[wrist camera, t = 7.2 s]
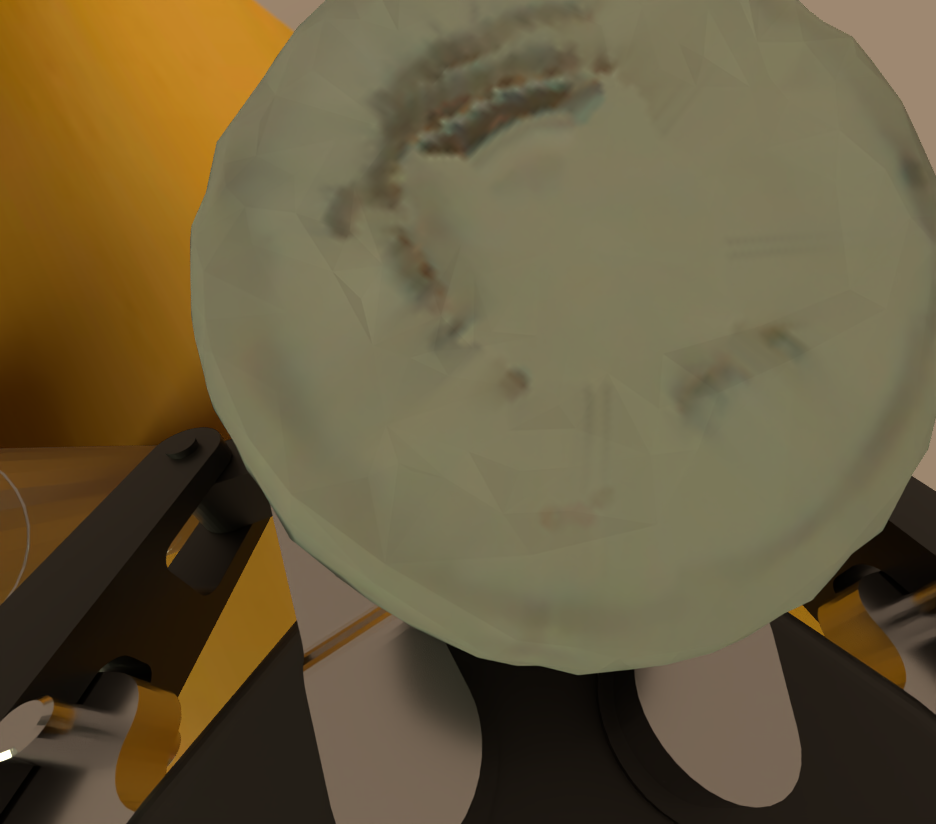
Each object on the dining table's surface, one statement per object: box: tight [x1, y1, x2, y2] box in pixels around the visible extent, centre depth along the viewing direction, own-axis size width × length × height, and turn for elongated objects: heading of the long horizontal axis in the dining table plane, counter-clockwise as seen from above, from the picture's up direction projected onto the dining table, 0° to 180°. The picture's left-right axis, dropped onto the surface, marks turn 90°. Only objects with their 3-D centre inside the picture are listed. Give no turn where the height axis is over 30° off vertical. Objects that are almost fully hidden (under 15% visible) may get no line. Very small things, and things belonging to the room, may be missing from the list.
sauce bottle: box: [190, 0, 936, 675], centre depth 11 cm, size 7×6×20 cm
